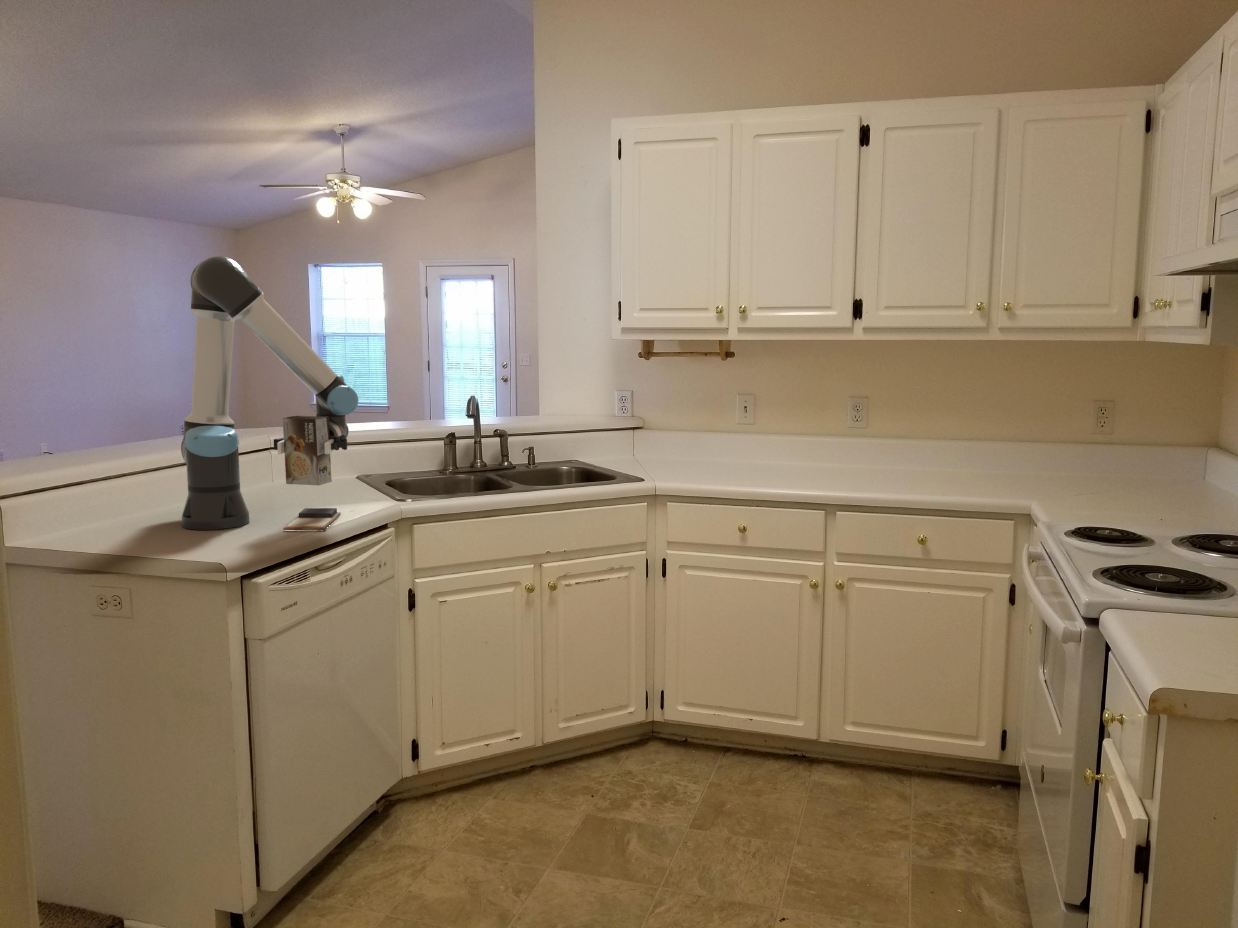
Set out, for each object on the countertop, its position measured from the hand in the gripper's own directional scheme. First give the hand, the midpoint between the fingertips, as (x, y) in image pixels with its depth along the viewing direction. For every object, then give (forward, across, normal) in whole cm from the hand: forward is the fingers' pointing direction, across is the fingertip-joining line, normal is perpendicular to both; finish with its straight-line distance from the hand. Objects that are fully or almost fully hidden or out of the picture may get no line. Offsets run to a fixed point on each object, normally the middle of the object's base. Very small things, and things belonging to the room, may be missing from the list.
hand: (302, 448), depth 212 cm
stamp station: (-8, 0, -20) cm, 21 cm away
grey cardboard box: (-4, 0, -9) cm, 10 cm away
